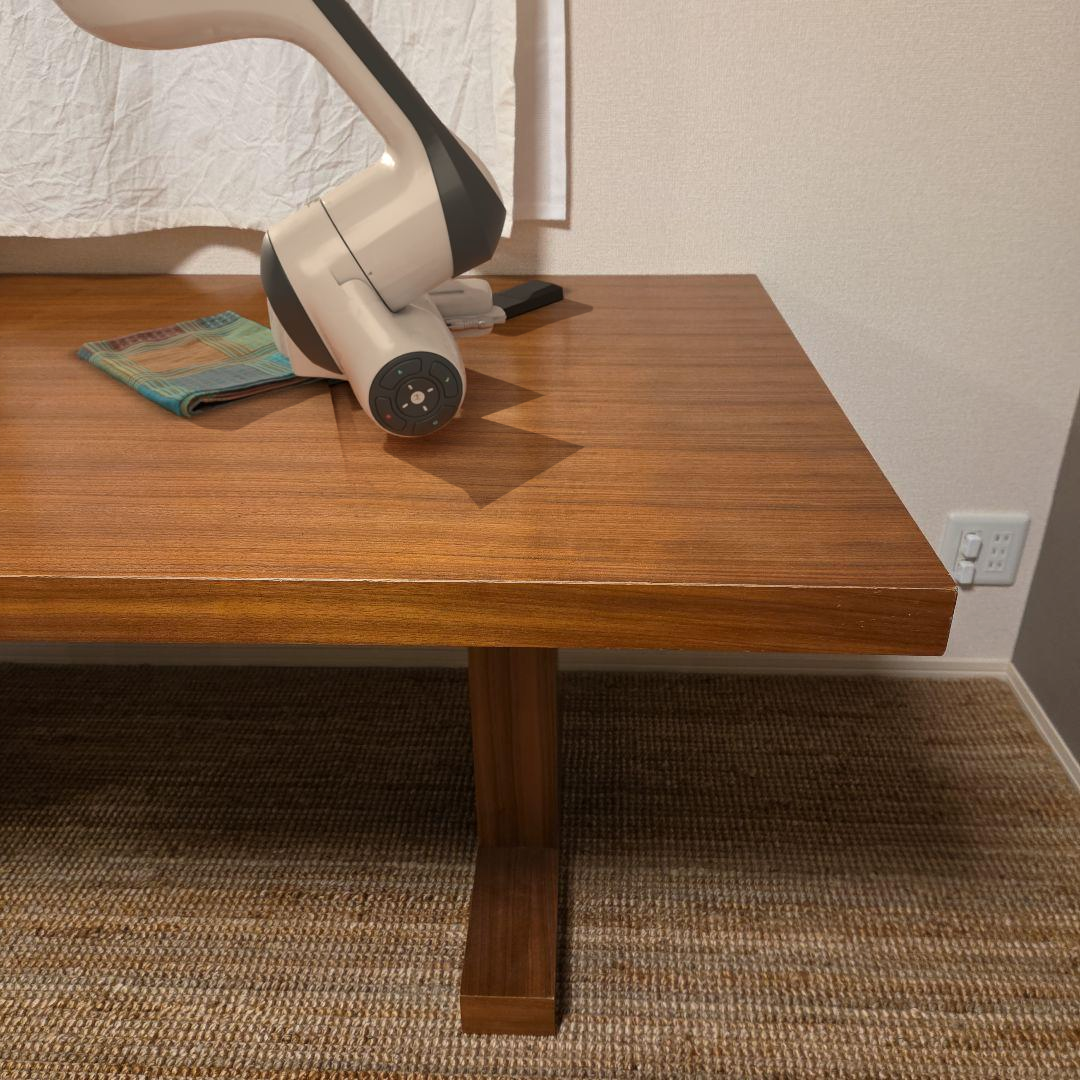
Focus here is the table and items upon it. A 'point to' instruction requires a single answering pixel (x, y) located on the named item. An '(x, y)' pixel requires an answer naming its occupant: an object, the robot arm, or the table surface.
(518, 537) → the table surface
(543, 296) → the remote control
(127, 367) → the dish towel
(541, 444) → the table surface
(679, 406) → the table surface
